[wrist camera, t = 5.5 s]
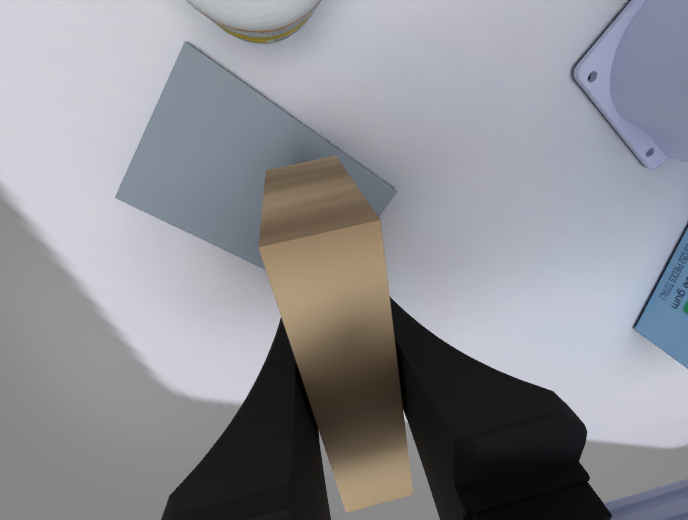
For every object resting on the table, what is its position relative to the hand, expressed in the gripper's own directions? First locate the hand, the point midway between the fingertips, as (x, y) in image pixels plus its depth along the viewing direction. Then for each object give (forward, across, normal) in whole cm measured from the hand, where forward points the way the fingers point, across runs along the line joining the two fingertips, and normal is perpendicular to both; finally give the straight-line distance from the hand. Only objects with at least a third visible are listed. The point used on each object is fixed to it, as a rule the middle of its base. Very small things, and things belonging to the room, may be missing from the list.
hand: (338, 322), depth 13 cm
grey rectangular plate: (+9, +2, -3) cm, 9 cm away
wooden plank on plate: (+2, 0, 0) cm, 2 cm away
